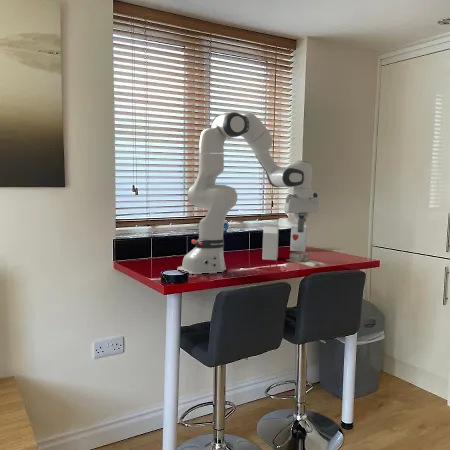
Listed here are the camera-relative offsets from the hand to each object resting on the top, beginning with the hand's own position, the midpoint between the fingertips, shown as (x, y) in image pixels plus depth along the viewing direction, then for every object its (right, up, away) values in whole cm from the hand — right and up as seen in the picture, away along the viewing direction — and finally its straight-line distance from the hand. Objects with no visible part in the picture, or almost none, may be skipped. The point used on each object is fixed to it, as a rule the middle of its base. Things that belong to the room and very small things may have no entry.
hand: (300, 221), depth 225 cm
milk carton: (-15, -20, +6) cm, 26 cm away
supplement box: (+5, -17, +42) cm, 46 cm away
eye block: (+2, -21, -2) cm, 22 cm away
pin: (0, -5, +1) cm, 5 cm away
